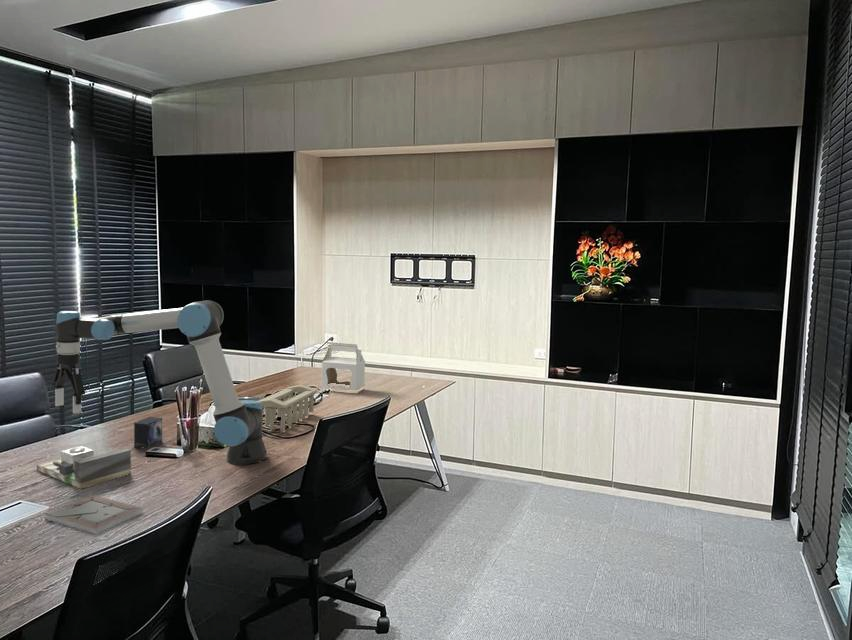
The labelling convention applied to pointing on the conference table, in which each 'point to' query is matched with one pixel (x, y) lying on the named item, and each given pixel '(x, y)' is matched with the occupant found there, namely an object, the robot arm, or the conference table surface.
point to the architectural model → (287, 405)
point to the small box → (147, 432)
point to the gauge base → (92, 468)
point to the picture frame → (93, 513)
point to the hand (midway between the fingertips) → (68, 409)
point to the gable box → (343, 367)
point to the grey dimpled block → (75, 454)
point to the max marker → (65, 468)
